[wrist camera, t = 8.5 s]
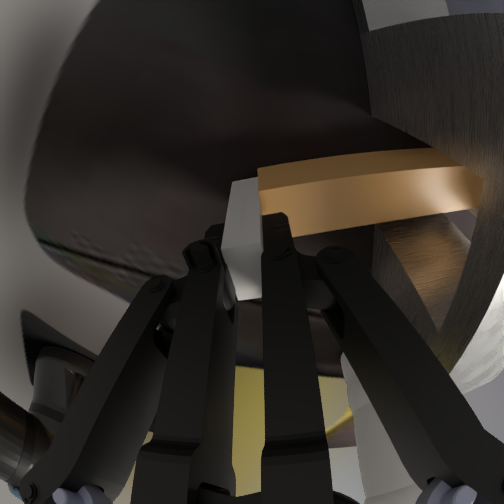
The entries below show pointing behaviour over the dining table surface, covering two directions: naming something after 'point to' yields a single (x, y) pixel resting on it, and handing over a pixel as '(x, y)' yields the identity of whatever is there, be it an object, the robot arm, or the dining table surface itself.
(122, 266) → the dining table surface
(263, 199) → the mallet
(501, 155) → the white arch block
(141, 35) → the dining table surface
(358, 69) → the dining table surface
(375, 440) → the water bottle
